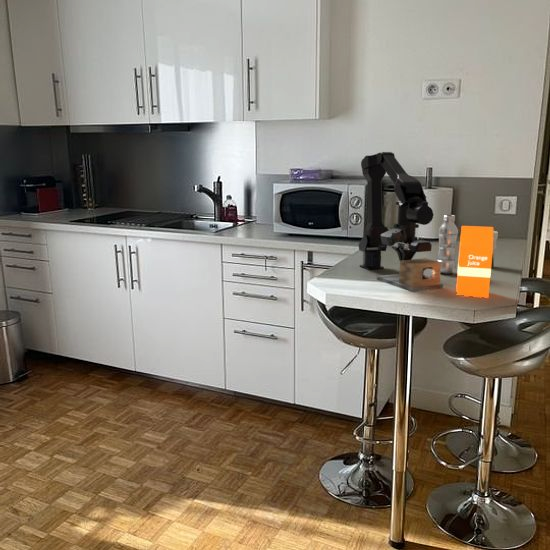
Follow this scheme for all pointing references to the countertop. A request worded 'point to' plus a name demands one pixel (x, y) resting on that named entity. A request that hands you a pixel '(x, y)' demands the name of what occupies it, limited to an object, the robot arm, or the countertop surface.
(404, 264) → the bearing block
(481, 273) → the orange juice
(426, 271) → the shaft
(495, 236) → the character mug
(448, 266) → the plastic bottle
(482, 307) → the countertop surface
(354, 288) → the countertop surface
